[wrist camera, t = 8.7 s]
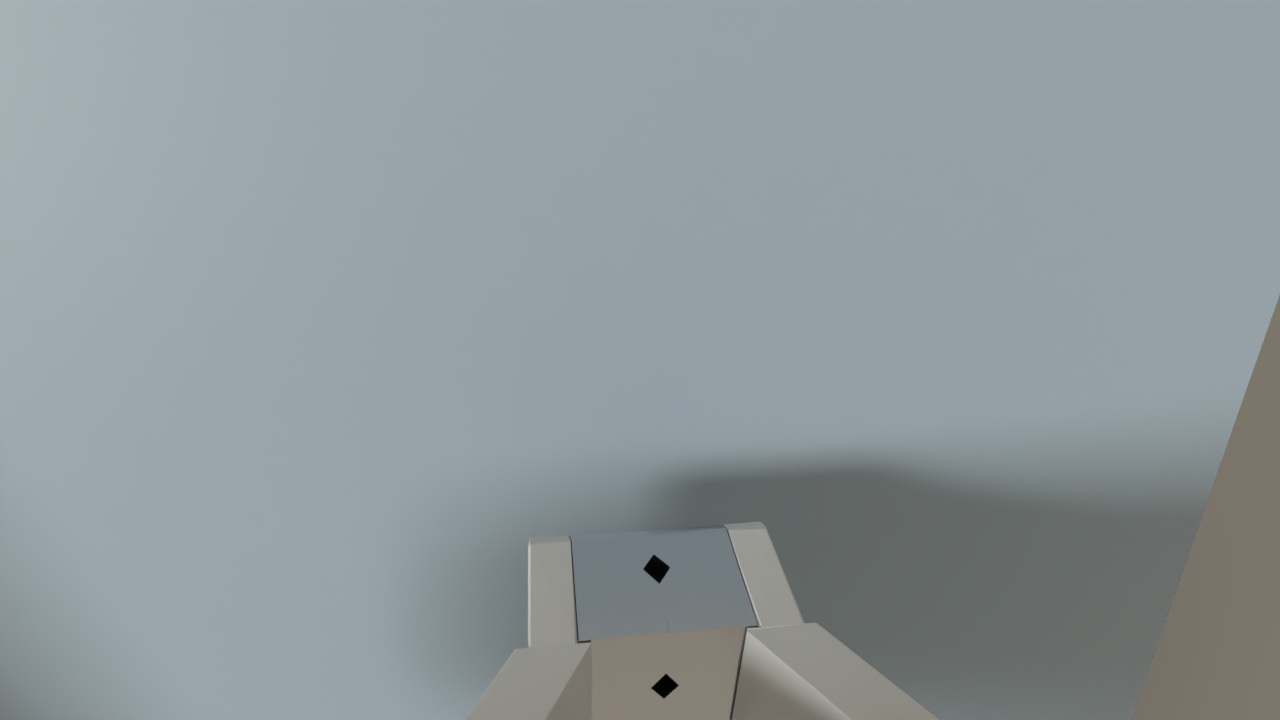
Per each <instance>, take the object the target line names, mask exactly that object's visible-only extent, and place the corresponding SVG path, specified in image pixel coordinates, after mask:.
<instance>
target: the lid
mask: <svg viewBox="0 0 1280 720" xmlns="http://www.w3.org/2000/svg"><path fill="white" fill-rule="evenodd" d="M1279 295H1280V0H0V720H465V719H466V717H467V716H468V714H469V713H470V712H471V710H472V709H473V707H474V706H475V705H476V703H477V702H478V700H479V699H480V698H481V696H482V695H483V693H484V692H485V691H486V689H487V688H488V686H489V685H490V684H491V682H492V681H493V679H494V678H495V677H496V675H497V674H498V672H499V671H500V670H501V668H502V667H503V665H504V664H505V663H506V661H507V660H508V658H509V657H510V656H511V654H512V653H513V651H514V650H515V649H520V648H528V544H529V539H530V537H544V536H570V538H571V534H593V533H616V532H638V531H648V530H661V529H673V528H686V527H699V526H712V525H721V526H723V524H735V523H748V522H760V521H761V522H762V523H763V524H764V525H765V526H766V528H767V530H768V533H769V535H770V538H771V540H772V543H773V545H774V548H775V550H776V553H777V555H778V558H779V560H780V563H781V565H782V568H783V570H784V573H785V575H786V578H787V580H788V583H789V585H790V588H791V590H792V593H793V595H794V598H795V600H796V603H797V605H798V608H799V610H800V613H801V615H802V618H803V620H804V623H818V624H819V625H820V626H821V627H823V628H824V629H825V630H827V631H828V632H829V633H830V634H832V635H833V636H834V637H835V638H837V639H838V640H839V641H840V642H842V643H843V644H844V645H845V646H847V647H848V648H849V649H851V650H852V651H853V652H854V653H856V654H857V655H858V656H859V657H861V658H862V659H863V660H864V661H866V662H867V663H868V664H870V665H871V666H872V667H873V668H875V669H876V670H877V671H878V672H880V673H881V674H882V675H883V676H885V677H886V678H887V679H888V680H890V681H891V682H892V683H894V684H895V685H896V686H897V687H899V688H900V689H901V690H902V691H904V692H905V693H906V694H907V695H909V696H910V697H911V698H912V699H914V700H915V701H916V702H918V703H919V704H920V705H921V706H923V707H924V708H925V709H926V710H928V711H929V712H930V713H931V714H933V715H934V716H935V717H937V718H938V719H939V720H1131V718H1132V715H1133V712H1134V710H1135V707H1136V704H1137V701H1138V698H1139V695H1140V693H1141V690H1142V687H1143V684H1144V681H1145V678H1146V675H1147V672H1148V670H1149V667H1150V664H1151V661H1152V658H1153V655H1154V653H1155V650H1156V647H1157V644H1158V641H1159V638H1160V635H1161V632H1162V630H1163V627H1164V624H1165V621H1166V618H1167V615H1168V613H1169V609H1170V607H1171V604H1172V601H1173V598H1174V595H1175V593H1176V590H1177V587H1178V584H1179V581H1180V578H1181V575H1182V573H1183V570H1184V566H1185V564H1186V561H1187V558H1188V555H1189V552H1190V550H1191V547H1192V544H1193V541H1194V538H1195V535H1196V532H1197V530H1198V527H1199V524H1200V521H1201V518H1202V515H1203V512H1204V510H1205V507H1206V504H1207V501H1208V498H1209V495H1210V493H1211V490H1212V487H1213V484H1214V481H1215V478H1216V475H1217V472H1218V470H1219V467H1220V464H1221V461H1222V458H1223V455H1224V452H1225V450H1226V447H1227V444H1228V441H1229V438H1230V435H1231V432H1232V429H1233V427H1234V424H1235V421H1236V418H1237V415H1238V413H1239V410H1240V407H1241V404H1242V401H1243V398H1244V395H1245V393H1246V390H1247V387H1248V384H1249V381H1250V378H1251V375H1252V372H1253V370H1254V367H1255V364H1256V361H1257V358H1258V355H1259V352H1260V350H1261V347H1262V344H1263V341H1264V338H1265V335H1266V333H1267V329H1268V327H1269V324H1270V321H1271V318H1272V315H1273V312H1274V310H1275V307H1276V304H1277V301H1278V298H1279Z"/></svg>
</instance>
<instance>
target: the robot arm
mask: <svg viewBox="0 0 1280 720" xmlns="http://www.w3.org/2000/svg"><path fill="white" fill-rule="evenodd" d="M465 720H939V719H938V718H937V717H935V716H934V715H933V714H931V713H930V712H929V711H928V710H926V709H925V708H924V707H923V706H921V705H920V704H919V703H918V702H916V701H915V700H914V699H912V698H911V697H910V696H909V695H907V694H906V693H905V692H904V691H902V690H901V689H900V688H899V687H897V686H896V685H895V684H894V683H892V682H891V681H890V680H888V679H887V678H886V677H885V676H883V675H882V674H881V673H880V672H878V671H877V670H876V669H875V668H873V667H872V666H871V665H870V664H868V663H867V662H866V661H864V660H863V659H862V658H861V657H859V656H858V655H857V654H856V653H854V652H853V651H852V650H851V649H849V648H848V647H847V646H845V645H844V644H843V643H842V642H840V641H839V640H838V639H837V638H835V637H834V636H833V635H832V634H830V633H829V632H828V631H827V630H825V629H824V628H823V627H821V626H820V625H819V624H818V623H804V620H803V618H802V615H801V613H800V610H799V608H798V605H797V603H796V600H795V598H794V595H793V593H792V590H791V588H790V585H789V583H788V580H787V578H786V575H785V573H784V570H783V568H782V565H781V563H780V560H779V558H778V555H777V553H776V550H775V548H774V545H773V543H772V540H771V538H770V535H769V533H768V530H767V528H766V526H765V525H764V524H763V523H762V522H761V521H760V522H748V523H735V524H723V526H721V525H712V526H699V527H686V528H673V529H661V530H648V531H638V532H616V533H593V534H571V538H570V536H544V537H530V539H529V544H528V648H520V649H515V650H514V651H513V653H512V654H511V656H510V657H509V658H508V660H507V661H506V663H505V664H504V665H503V667H502V668H501V670H500V671H499V672H498V674H497V675H496V677H495V678H494V679H493V681H492V682H491V684H490V685H489V686H488V688H487V689H486V691H485V692H484V693H483V695H482V696H481V698H480V699H479V700H478V702H477V703H476V705H475V706H474V707H473V709H472V710H471V712H470V713H469V714H468V716H467V717H466V719H465Z"/></svg>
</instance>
